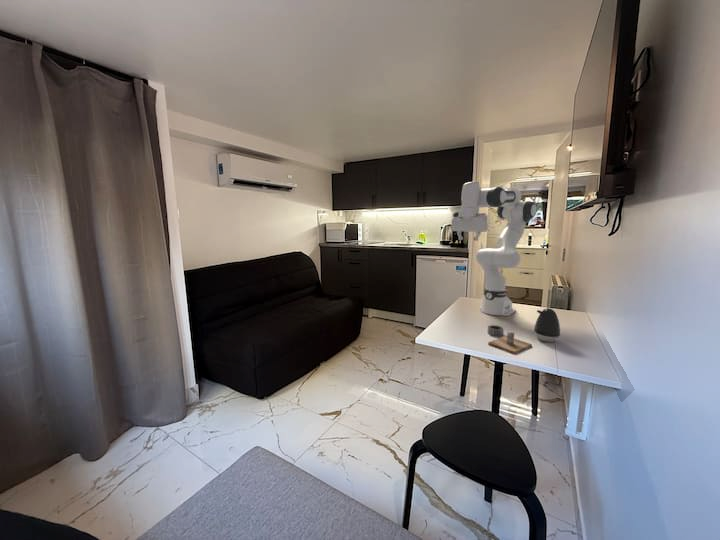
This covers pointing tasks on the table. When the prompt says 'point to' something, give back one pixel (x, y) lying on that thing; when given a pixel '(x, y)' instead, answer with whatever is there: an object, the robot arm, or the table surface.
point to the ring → (495, 330)
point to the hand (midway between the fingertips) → (468, 240)
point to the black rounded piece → (547, 326)
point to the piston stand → (510, 343)
